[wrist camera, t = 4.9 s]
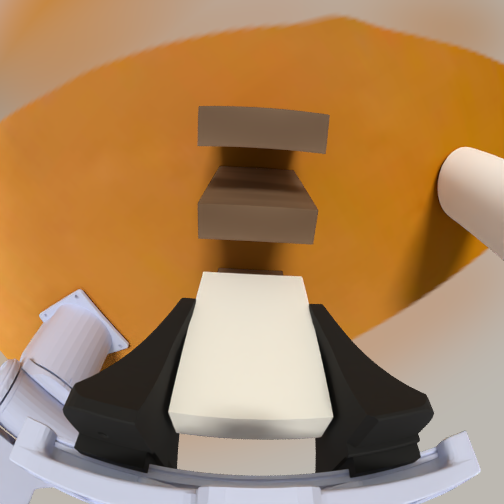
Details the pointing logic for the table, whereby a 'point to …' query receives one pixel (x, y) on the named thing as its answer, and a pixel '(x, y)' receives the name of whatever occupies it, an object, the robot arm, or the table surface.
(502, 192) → the can
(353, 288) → the table surface
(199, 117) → the domino
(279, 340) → the domino
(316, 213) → the domino
